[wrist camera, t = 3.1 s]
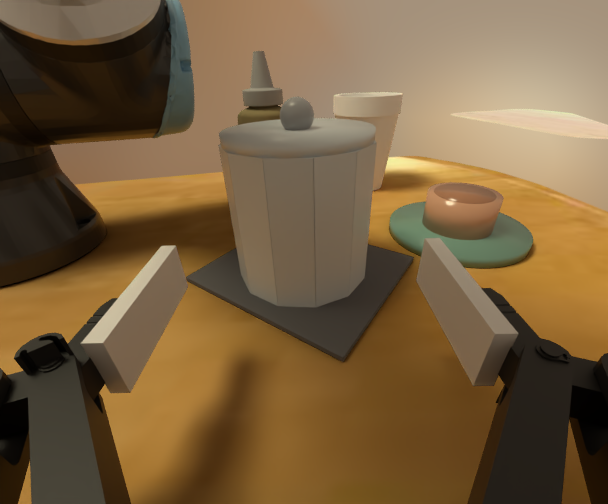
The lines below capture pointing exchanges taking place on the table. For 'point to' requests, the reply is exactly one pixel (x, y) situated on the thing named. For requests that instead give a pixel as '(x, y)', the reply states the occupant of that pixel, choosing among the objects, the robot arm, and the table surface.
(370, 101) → the foam cup
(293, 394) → the table surface
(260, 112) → the squeeze bottle
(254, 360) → the table surface
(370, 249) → the mat
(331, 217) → the lidded canister
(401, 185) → the table surface
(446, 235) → the green and pink dish
